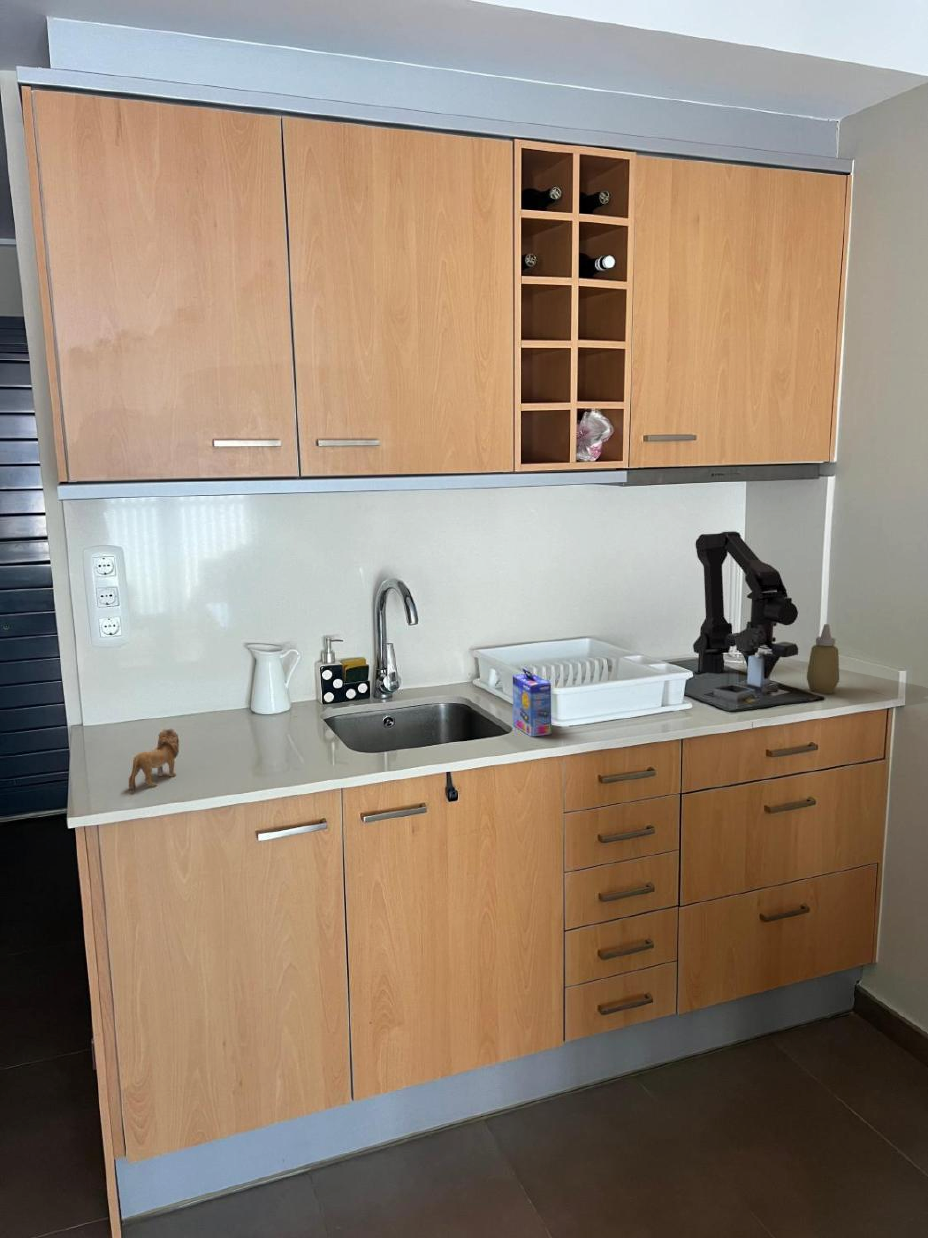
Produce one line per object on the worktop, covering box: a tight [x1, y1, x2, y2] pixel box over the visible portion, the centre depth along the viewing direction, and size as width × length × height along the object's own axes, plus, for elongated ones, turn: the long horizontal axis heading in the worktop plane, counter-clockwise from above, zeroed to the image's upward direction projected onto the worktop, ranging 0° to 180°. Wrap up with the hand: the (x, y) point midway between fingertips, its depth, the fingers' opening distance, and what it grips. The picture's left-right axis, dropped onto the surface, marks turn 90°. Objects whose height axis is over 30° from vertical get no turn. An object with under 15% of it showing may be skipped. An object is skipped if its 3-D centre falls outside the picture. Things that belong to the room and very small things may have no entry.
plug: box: [746, 651, 771, 686], centre depth 244 cm, size 4×4×9 cm
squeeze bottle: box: [806, 623, 840, 695], centre depth 246 cm, size 8×8×18 cm
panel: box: [702, 679, 789, 706], centre depth 242 cm, size 12×20×3 cm, turn 127°
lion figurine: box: [128, 728, 180, 793], centre depth 184 cm, size 15×5×9 cm, turn 166°
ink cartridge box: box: [512, 667, 552, 738], centre depth 215 cm, size 10×6×14 cm, turn 23°
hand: (758, 677), depth 245 cm, fingers closed on plug, 4 cm apart
